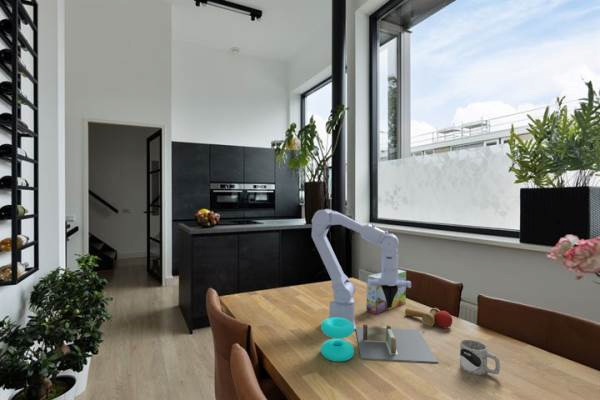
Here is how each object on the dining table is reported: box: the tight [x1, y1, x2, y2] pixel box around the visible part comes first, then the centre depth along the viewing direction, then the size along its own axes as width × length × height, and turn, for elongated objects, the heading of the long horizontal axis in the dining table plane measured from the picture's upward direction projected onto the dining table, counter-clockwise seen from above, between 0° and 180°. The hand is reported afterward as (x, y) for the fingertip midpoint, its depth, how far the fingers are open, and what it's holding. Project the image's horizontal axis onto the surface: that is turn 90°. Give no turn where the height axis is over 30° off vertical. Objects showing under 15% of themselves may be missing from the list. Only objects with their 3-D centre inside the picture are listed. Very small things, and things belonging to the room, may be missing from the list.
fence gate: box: [387, 328, 396, 354], centre depth 100 cm, size 8×1×4 cm, turn 174°
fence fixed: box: [362, 324, 392, 341], centre depth 105 cm, size 9×1×5 cm, turn 84°
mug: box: [459, 339, 501, 376], centre depth 88 cm, size 10×7×7 cm
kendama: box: [404, 307, 453, 329], centre depth 122 cm, size 8×6×18 cm
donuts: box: [320, 317, 355, 362], centre depth 97 cm, size 10×10×10 cm
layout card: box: [355, 326, 439, 364], centre depth 104 cm, size 22×22×1 cm
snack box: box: [365, 268, 407, 315], centre depth 137 cm, size 21×6×15 cm, turn 129°
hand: (389, 306), depth 113 cm, fingers closed
